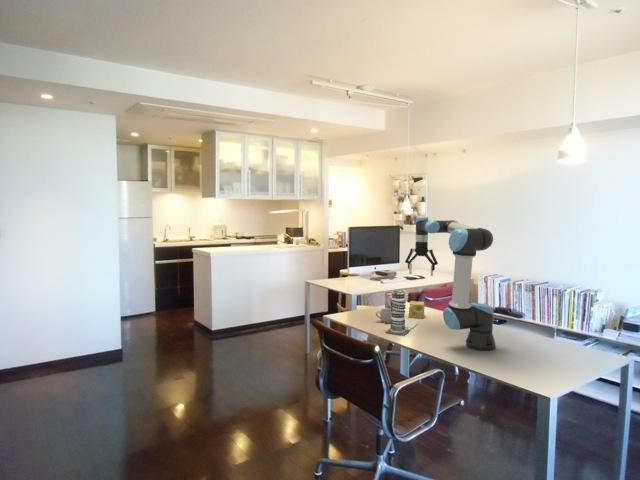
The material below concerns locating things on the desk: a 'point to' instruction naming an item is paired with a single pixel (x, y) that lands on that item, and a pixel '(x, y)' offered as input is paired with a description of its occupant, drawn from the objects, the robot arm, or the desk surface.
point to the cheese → (416, 310)
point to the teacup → (385, 315)
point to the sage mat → (410, 325)
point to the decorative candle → (398, 311)
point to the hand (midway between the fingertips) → (420, 274)
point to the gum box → (388, 299)
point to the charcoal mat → (397, 333)
